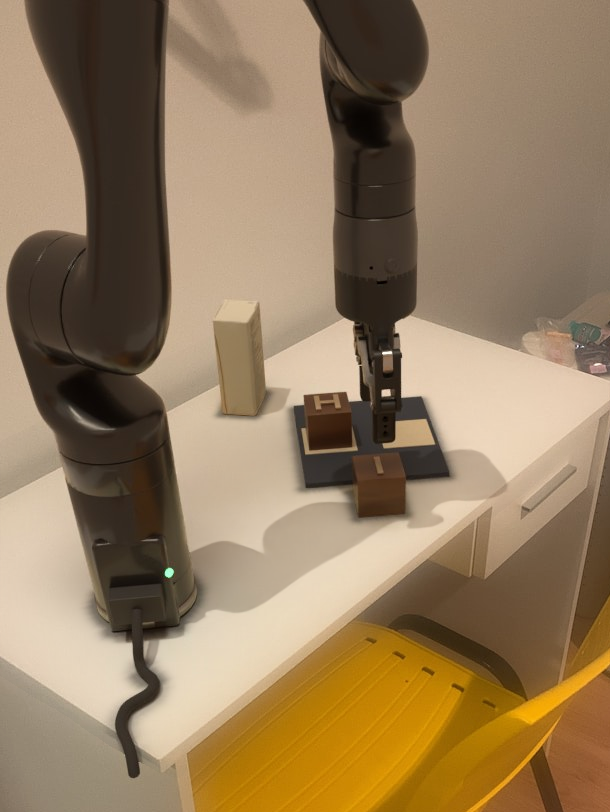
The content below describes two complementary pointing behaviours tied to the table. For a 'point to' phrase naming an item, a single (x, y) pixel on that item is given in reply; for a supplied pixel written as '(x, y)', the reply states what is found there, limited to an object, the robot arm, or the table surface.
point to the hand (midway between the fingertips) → (377, 419)
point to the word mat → (375, 446)
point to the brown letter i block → (379, 484)
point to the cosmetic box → (240, 356)
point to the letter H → (328, 420)
